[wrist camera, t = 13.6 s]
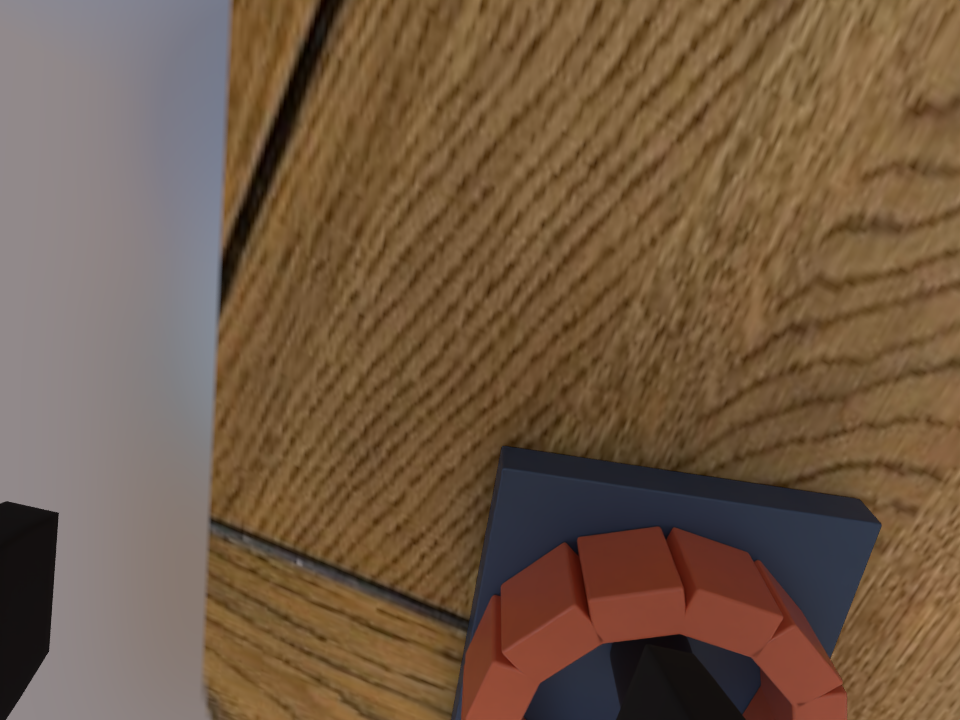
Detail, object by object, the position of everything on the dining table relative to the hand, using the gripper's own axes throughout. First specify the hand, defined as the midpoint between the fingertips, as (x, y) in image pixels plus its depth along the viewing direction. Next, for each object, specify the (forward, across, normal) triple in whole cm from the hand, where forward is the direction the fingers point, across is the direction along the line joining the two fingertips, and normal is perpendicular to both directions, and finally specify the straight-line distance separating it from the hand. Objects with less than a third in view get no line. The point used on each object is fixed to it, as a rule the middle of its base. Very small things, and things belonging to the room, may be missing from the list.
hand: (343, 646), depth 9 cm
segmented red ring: (+8, -7, +6) cm, 12 cm away
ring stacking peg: (+9, -7, +5) cm, 13 cm away
